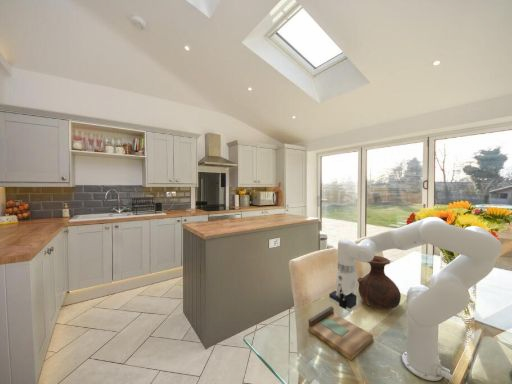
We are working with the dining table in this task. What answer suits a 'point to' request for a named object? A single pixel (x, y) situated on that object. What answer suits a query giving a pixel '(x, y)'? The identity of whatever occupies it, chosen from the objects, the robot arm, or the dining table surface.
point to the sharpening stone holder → (339, 333)
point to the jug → (379, 286)
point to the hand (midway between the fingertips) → (346, 304)
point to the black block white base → (349, 299)
